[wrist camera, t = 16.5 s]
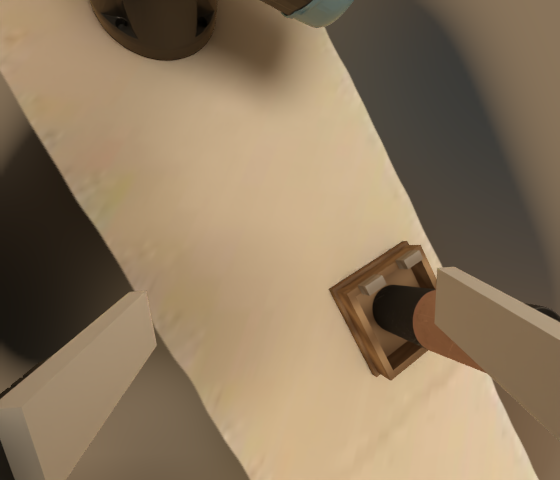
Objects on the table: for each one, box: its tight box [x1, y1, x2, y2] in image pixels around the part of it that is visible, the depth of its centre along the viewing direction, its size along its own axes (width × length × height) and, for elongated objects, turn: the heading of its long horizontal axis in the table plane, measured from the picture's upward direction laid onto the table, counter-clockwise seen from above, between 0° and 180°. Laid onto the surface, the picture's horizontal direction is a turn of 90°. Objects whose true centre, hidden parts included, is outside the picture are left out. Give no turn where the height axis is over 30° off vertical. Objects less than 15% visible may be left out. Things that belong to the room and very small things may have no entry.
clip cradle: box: [329, 241, 437, 380], centre depth 43 cm, size 15×15×6 cm
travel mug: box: [373, 285, 560, 373], centre depth 35 cm, size 8×8×20 cm
